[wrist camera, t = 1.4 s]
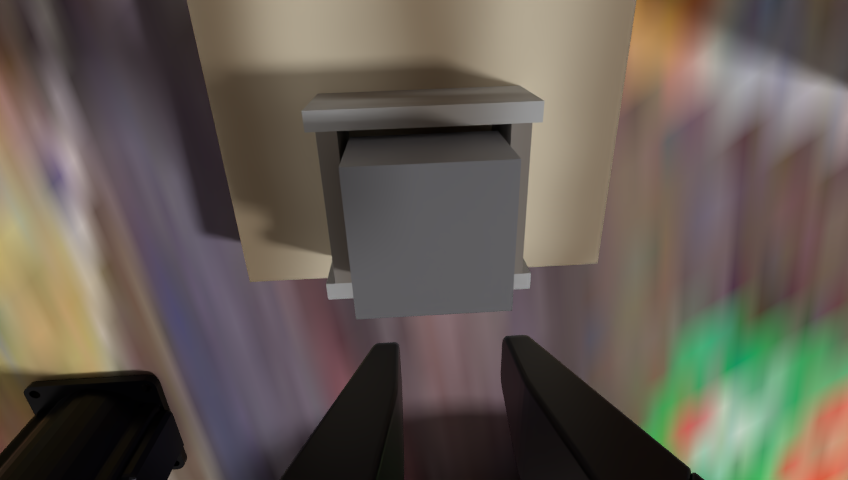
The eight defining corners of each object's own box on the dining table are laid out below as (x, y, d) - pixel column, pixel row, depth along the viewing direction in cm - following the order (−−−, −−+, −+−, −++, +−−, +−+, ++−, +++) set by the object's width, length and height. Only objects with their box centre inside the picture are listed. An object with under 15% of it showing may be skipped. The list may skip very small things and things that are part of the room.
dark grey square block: (362, 267, 16) (356, 319, 13) (349, 136, 14) (338, 167, 11) (492, 260, 16) (512, 310, 13) (497, 130, 14) (521, 159, 11)
